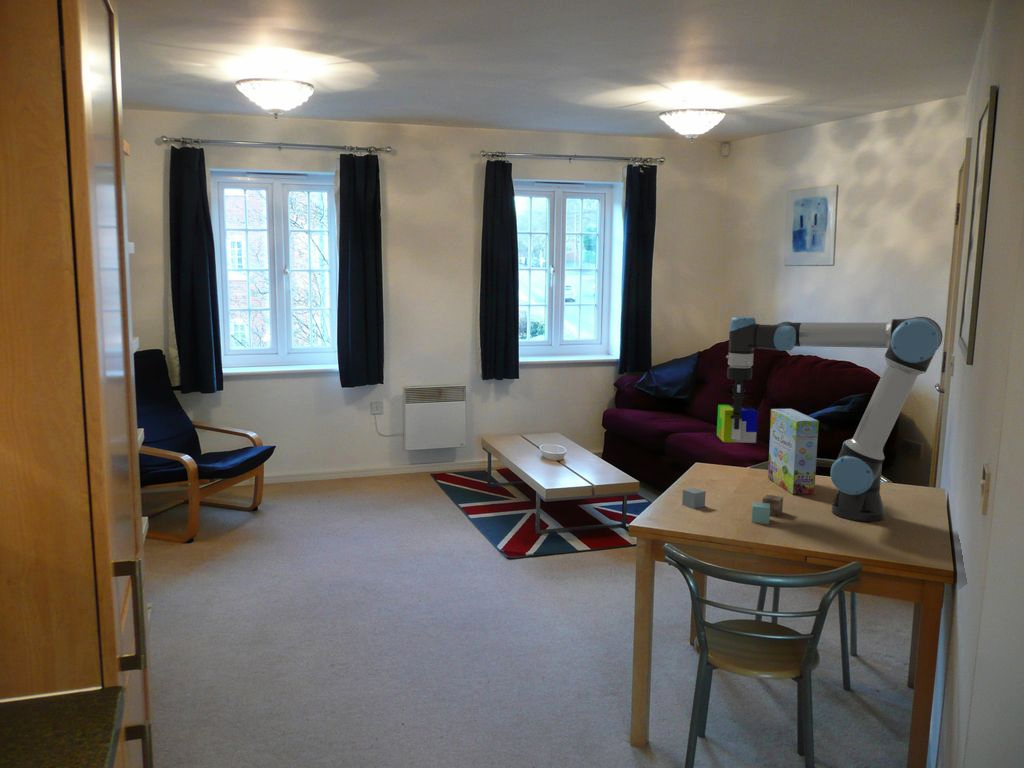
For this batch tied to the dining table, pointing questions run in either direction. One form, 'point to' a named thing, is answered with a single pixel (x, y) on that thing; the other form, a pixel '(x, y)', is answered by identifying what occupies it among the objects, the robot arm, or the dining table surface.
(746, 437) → the puzzle toy
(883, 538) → the dining table surface
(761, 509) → the dusty teal cube
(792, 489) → the snack box
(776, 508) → the walnut cube
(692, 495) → the slate grey cube
